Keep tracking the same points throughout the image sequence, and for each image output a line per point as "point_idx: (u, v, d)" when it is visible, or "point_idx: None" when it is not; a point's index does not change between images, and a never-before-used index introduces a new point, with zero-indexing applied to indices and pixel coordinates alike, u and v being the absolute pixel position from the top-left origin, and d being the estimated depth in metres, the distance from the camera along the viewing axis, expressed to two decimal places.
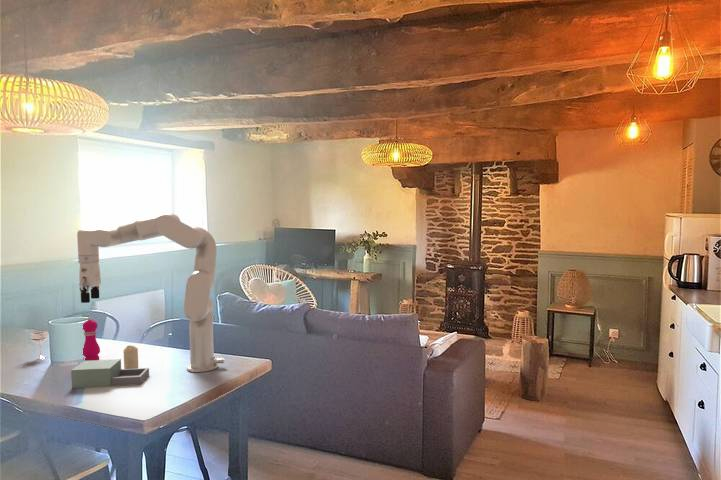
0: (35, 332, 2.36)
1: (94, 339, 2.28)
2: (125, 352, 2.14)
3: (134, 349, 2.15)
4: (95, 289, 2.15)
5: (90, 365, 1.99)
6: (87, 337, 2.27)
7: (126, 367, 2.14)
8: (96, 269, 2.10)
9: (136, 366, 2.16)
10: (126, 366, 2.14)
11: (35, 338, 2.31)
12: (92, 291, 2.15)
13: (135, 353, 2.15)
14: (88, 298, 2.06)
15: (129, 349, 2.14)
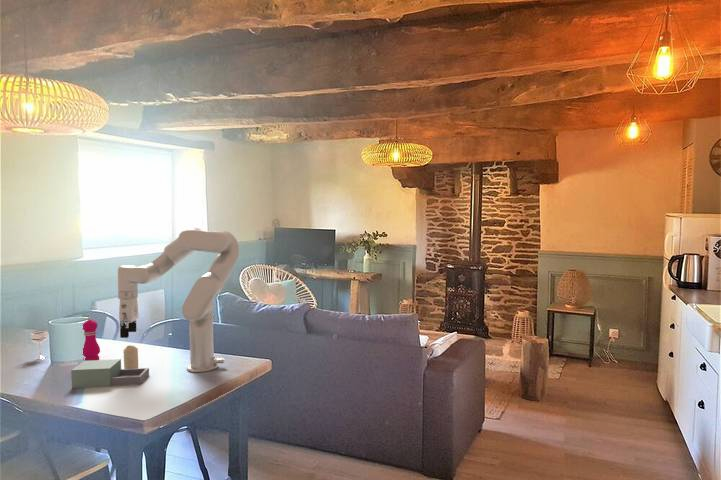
0: (35, 332, 2.36)
1: (94, 339, 2.28)
2: (125, 352, 2.14)
3: (134, 349, 2.15)
4: (132, 323, 2.20)
5: (90, 365, 1.99)
6: (87, 337, 2.27)
7: (126, 367, 2.14)
8: (135, 304, 2.16)
9: (136, 366, 2.16)
10: (126, 366, 2.14)
11: (35, 338, 2.31)
12: (129, 325, 2.20)
13: (135, 353, 2.15)
14: (127, 333, 2.11)
15: (129, 349, 2.14)
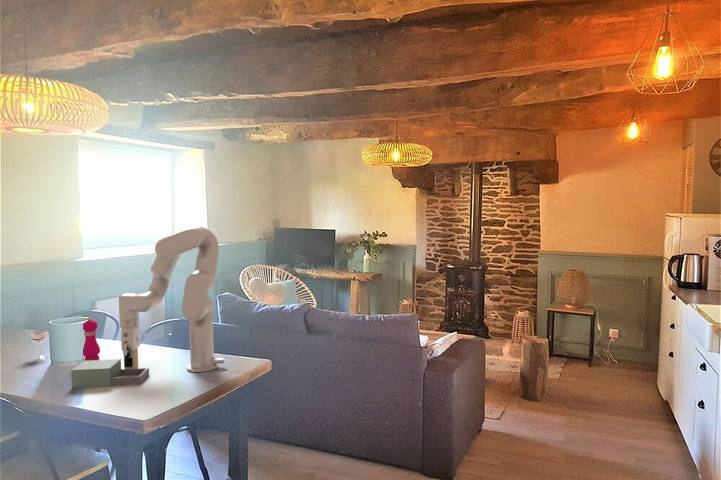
0: (35, 332, 2.36)
1: (94, 339, 2.28)
2: None
3: None
4: None
5: (90, 365, 1.99)
6: (87, 337, 2.27)
7: (126, 367, 2.14)
8: (136, 332, 2.16)
9: (136, 366, 2.16)
10: None
11: (35, 338, 2.31)
12: None
13: (135, 353, 2.15)
14: (131, 363, 2.13)
15: (129, 349, 2.14)
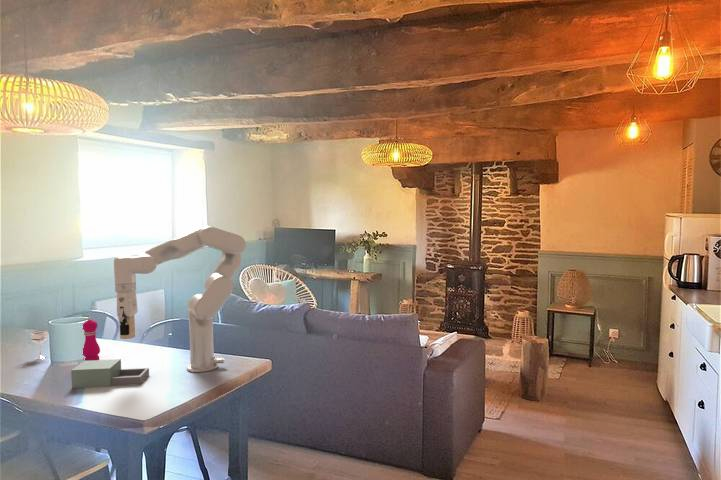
0: (35, 332, 2.36)
1: (94, 339, 2.28)
2: None
3: None
4: None
5: (90, 365, 1.99)
6: (87, 337, 2.27)
7: (122, 335, 1.99)
8: (133, 298, 2.01)
9: (133, 334, 2.01)
10: None
11: (35, 338, 2.31)
12: None
13: (131, 320, 2.00)
14: (127, 330, 1.98)
15: (125, 316, 1.99)
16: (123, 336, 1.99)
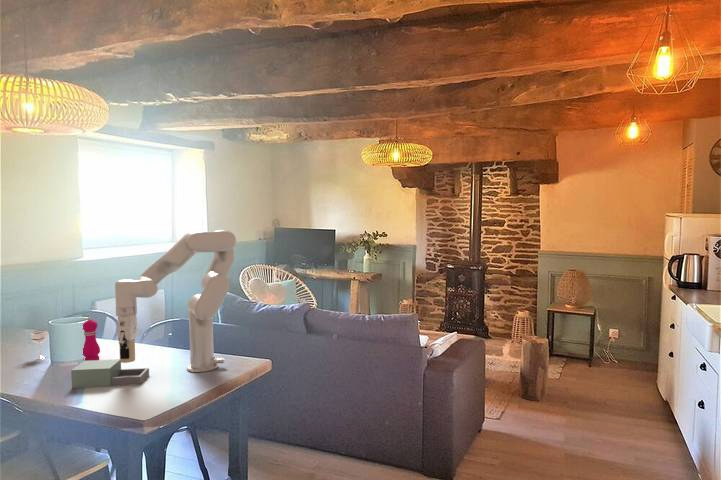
0: (35, 332, 2.36)
1: (94, 339, 2.28)
2: None
3: None
4: None
5: (90, 365, 1.99)
6: (87, 337, 2.27)
7: (122, 359, 1.99)
8: (134, 321, 2.01)
9: (133, 358, 2.01)
10: None
11: (35, 338, 2.31)
12: None
13: (132, 344, 2.00)
14: (128, 354, 1.98)
15: (125, 339, 1.99)
16: (123, 360, 1.99)
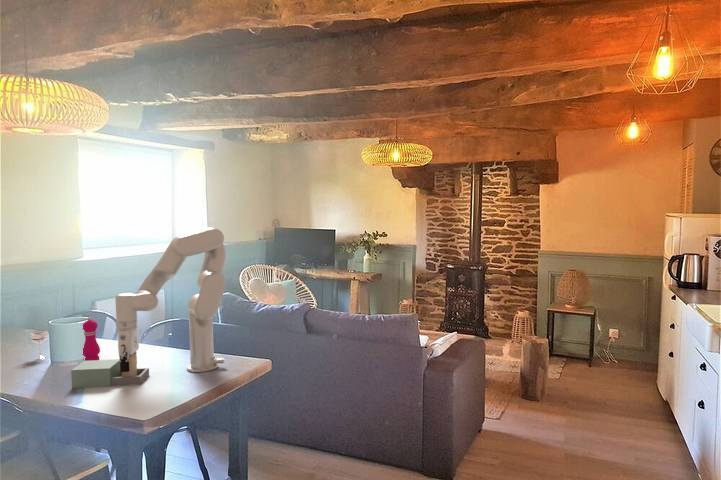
0: (35, 332, 2.36)
1: (94, 339, 2.28)
2: None
3: (132, 356, 2.01)
4: None
5: (90, 365, 1.99)
6: (87, 337, 2.27)
7: (124, 376, 2.00)
8: (135, 335, 2.02)
9: (135, 374, 2.02)
10: (124, 375, 2.00)
11: (35, 338, 2.31)
12: None
13: (133, 361, 2.01)
14: (128, 367, 1.98)
15: None
16: None
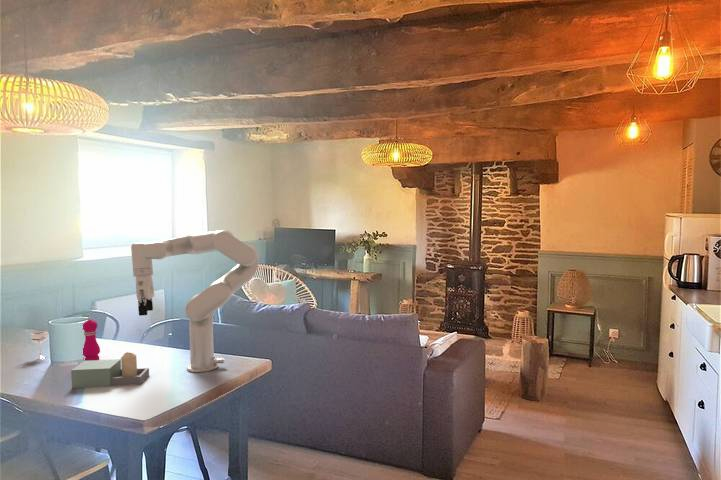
0: (35, 332, 2.36)
1: (94, 339, 2.28)
2: (123, 360, 2.00)
3: (132, 356, 2.01)
4: (149, 301, 2.16)
5: (90, 365, 1.99)
6: (87, 337, 2.27)
7: (124, 376, 2.00)
8: (151, 281, 2.12)
9: (135, 374, 2.02)
10: (124, 375, 2.00)
11: (35, 338, 2.31)
12: (146, 303, 2.16)
13: (133, 361, 2.01)
14: (146, 311, 2.07)
15: (127, 356, 2.00)
16: None
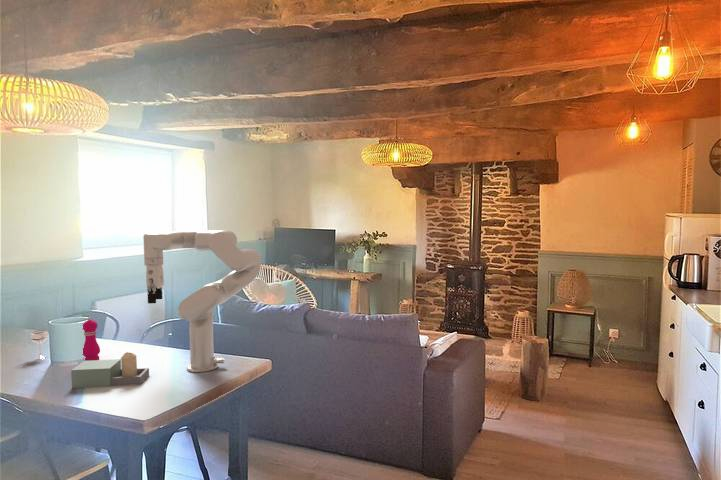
0: (35, 332, 2.36)
1: (94, 339, 2.28)
2: (123, 360, 2.00)
3: (132, 356, 2.01)
4: (158, 290, 2.23)
5: (90, 365, 1.99)
6: (87, 337, 2.27)
7: (124, 376, 2.00)
8: (161, 271, 2.19)
9: (135, 374, 2.02)
10: (124, 375, 2.00)
11: (35, 338, 2.31)
12: (156, 292, 2.23)
13: (133, 361, 2.01)
14: (154, 299, 2.14)
15: (127, 356, 2.00)
16: None
